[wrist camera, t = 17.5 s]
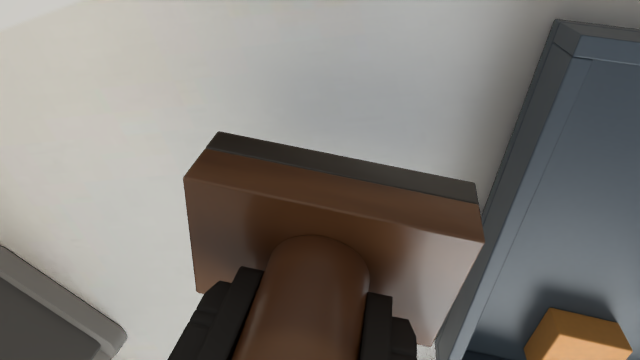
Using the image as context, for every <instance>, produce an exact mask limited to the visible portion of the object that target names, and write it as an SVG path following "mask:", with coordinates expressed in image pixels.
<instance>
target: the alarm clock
mask: <svg viewBox="0 0 640 360" xmlns="http://www.w3.org/2000/svg"><path fill="white" fill-rule="evenodd" d="M126 339H127V337H126V333H125V332H124V330H123V329H122V327H120V326H119V325H117V324H116V323H114V322H113V321H111V320H110V319H108V318H107V317H105V316H104V315H102V314H101V313H99V312H98V311H97V310H95V309H94V308H92V307H91V306H89V305H88V304H86V303H85V302H83V301H82V300H80V299H79V298H77V297H76V296H75V295H73V294H72V293H70V292H69V291H67V290H66V289H64V288H63V287H61V286H60V285H58V284H57V283H55V282H54V281H53V280H51V279H50V278H48V277H47V276H45V275H44V274H42V273H41V272H39V271H38V270H36V269H35V268H33V267H32V266H30V265H29V264H28V263H26V262H25V261H23V260H22V259H20V258H19V257H17V256H16V255H14V254H13V253H11V252H10V251H8V250H7V249H6V248H4V247H1V246H0V360H111V359H112V358H113V357H114V356H115V355H116V354H117V353H118V351H119V350H120V348H121V347H122V345H123V344H124V342H125V341H126Z"/></svg>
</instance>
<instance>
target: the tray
mask: <svg viewBox="0 0 640 360" xmlns="http://www.w3.org/2000/svg"><path fill="white" fill-rule="evenodd" d="M481 220H482V226H483V232H484V237H485V244H484V245H483V247H482V249H481V251H480V253H479V255H478V257H477V259H476V261H475V263H474V265H473V267H472V269H471V271H470V272H469V274H468V276H467V278H466V280H465V282H464V284H463V286H462V288H461V290H460V292H459V294H458V296H457V298H456V299H455V301H454V303H453V305H452V307H451V309H450V311H449V313H448V315H447V317H446V319H445V321H444V323H443V324H442V326H441V328H440V330H439V332H438V335H437V338H436V340H435V350H436V360H527V359H526V356H525V352H524V347H525V345H526V344H527V342H528V341H529V339H530V337H531V336H532V334H533V333H534V331H535V330H536V328H537V326H538V325H539V323H540V322H541V320H542V318H543V317H544V315H545V314H546V312H547V311H548V309H549V308H555V309H559V310H564V311H568V312H572V313H577V314H581V315H586V316H590V317H594V318H599V319H603V320H607V321H612V322H616V323H618V324H619V326H620V327H621V329H622V331H623V333H624V335H625V337H626V339H627V341H628V342H629V344H630V346H631V348H632V350H633V352H632V353H631V354H630V355H629V357H628V358H627V359H626V360H640V30H639V29H631V28H624V27H616V26H608V25H600V24H592V23H584V22H576V21H568V20H560V19H556V20H555V21H554V23H553V25H552V28H551V31H550V33H549V36H548V39H547V41H546V44H545V47H544V50H543V52H542V55H541V58H540V60H539V63H538V66H537V68H536V71H535V74H534V77H533V79H532V82H531V85H530V87H529V90H528V93H527V95H526V98H525V101H524V103H523V106H522V109H521V112H520V114H519V117H518V120H517V122H516V125H515V128H514V130H513V133H512V136H511V138H510V141H509V144H508V147H507V149H506V152H505V155H504V157H503V160H502V163H501V165H500V168H499V171H498V173H497V176H496V179H495V182H494V184H493V187H492V190H491V192H490V195H489V198H488V200H487V203H486V206H485V208H484V211H483V214H482V217H481Z"/></svg>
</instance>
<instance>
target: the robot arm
mask: <svg viewBox="0 0 640 360" xmlns="http://www.w3.org/2000/svg"><path fill="white" fill-rule="evenodd" d="M263 274H264V270H259V269H254V268H249V267H244V266H241V267H240V268H239V270H238V272H237V274H236V276H235V278H234V280H233V282H232V283H230V282H225V281H218V282H217V283H216V284H215V285H213V286H212V287H211V288H210V289H209V290H207V291H206V292H205V294H204V296H203V297H202V299H201V301H200V303H199V305H198V306H197V310H195V312H194V313H193V315H192V317H191V319H190V322H189V323H188V324H187V326H186V328H185V329H184V331H183V333H182V335H181V337H180V338H179V340H178V342H177V344H176V346H175V347H174V349H173V351H172V353H171V354H170V356H169V358H168V360H231V358H232V355H233V352H234V350H235V347H236V345H237V342H238V339H239V337H240V334H241V332H242V329H243V326H244V324H245V321H246V318H247V316H248V313H249V311H250V308H251V305H252V303H253V300H254V297H255V295H256V292H257V290H258V287H259V284H260V282H261V279H262V276H263ZM392 306H393V297H392V296H387V295H382V294H377V293H372V292H367V300H366V309H365V317H364V325H363V333H362V342H361V350H360V358H359V360H417V358H416V356H417V340H416V335H415V332H414V330H413V328H412V326H411V324H410V322H409V319H404V318H399V317H394V316H392Z"/></svg>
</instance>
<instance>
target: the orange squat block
mask: <svg viewBox="0 0 640 360" xmlns="http://www.w3.org/2000/svg"><path fill="white" fill-rule="evenodd" d="M524 352H525V356H526V359H527V360H626V359H627V358H628V357H629V355H630V354H631V353H632V352H633V350H632V348H631V346H630V344H629V342H628V341H627V339H626V337H625V335H624V333H623V331H622V329H621V327H620V326H619V324H618V323H616V322H612V321H607V320H603V319H599V318H594V317H590V316H586V315H581V314H577V313H572V312H568V311H564V310H559V309H555V308H549V309H548V311H547V312H546V314H545V315H544V317H543V318H542V320H541V322H540V323H539V325H538V326H537V328H536V330H535V331H534V333H533V334H532V336H531V337H530V339H529V341H528V342H527V344H526V345H525V347H524Z"/></svg>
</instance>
